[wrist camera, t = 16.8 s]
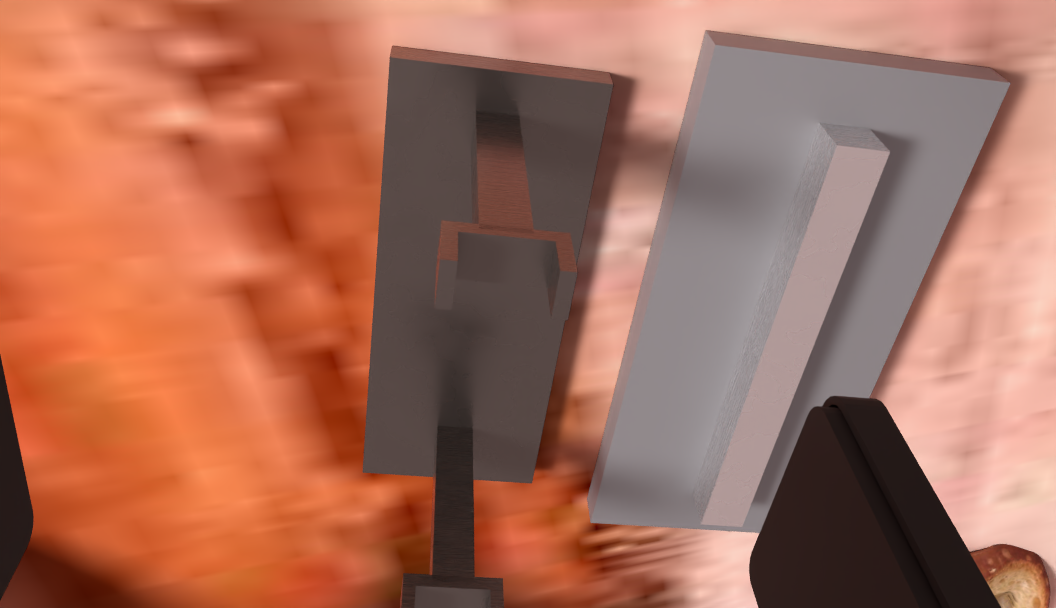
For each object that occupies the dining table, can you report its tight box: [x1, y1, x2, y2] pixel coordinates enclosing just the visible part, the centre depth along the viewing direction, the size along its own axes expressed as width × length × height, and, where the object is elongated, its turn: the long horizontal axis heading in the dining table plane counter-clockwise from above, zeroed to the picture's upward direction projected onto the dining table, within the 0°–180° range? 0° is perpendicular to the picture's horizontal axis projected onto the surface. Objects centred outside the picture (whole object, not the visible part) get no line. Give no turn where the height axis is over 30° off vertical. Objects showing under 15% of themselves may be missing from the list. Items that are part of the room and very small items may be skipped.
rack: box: [363, 46, 613, 608], centre depth 43 cm, size 10×25×15 cm, turn 172°
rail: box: [692, 123, 890, 527], centre depth 49 cm, size 2×24×2 cm, turn 172°
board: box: [587, 31, 1010, 533], centre depth 51 cm, size 14×30×2 cm, turn 172°
